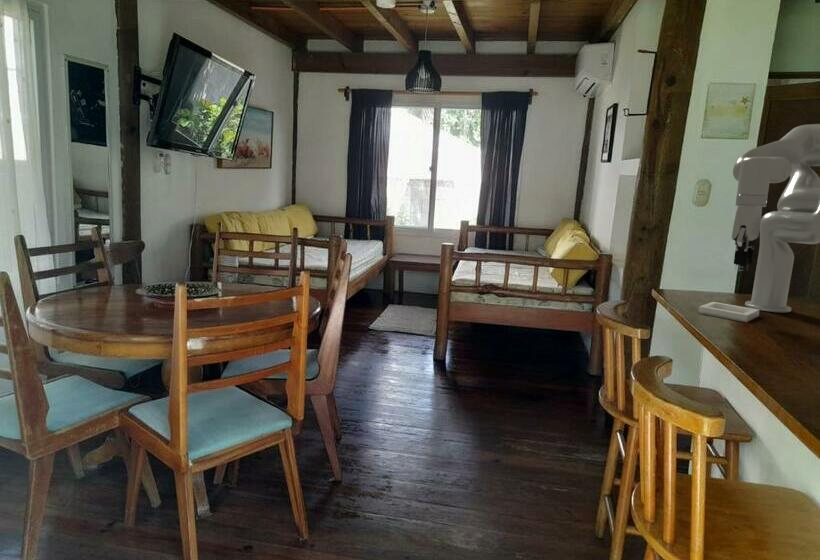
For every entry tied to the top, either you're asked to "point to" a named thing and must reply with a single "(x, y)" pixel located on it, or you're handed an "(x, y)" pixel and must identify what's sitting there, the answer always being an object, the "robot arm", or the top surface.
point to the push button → (744, 267)
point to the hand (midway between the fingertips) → (742, 262)
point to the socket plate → (729, 311)
